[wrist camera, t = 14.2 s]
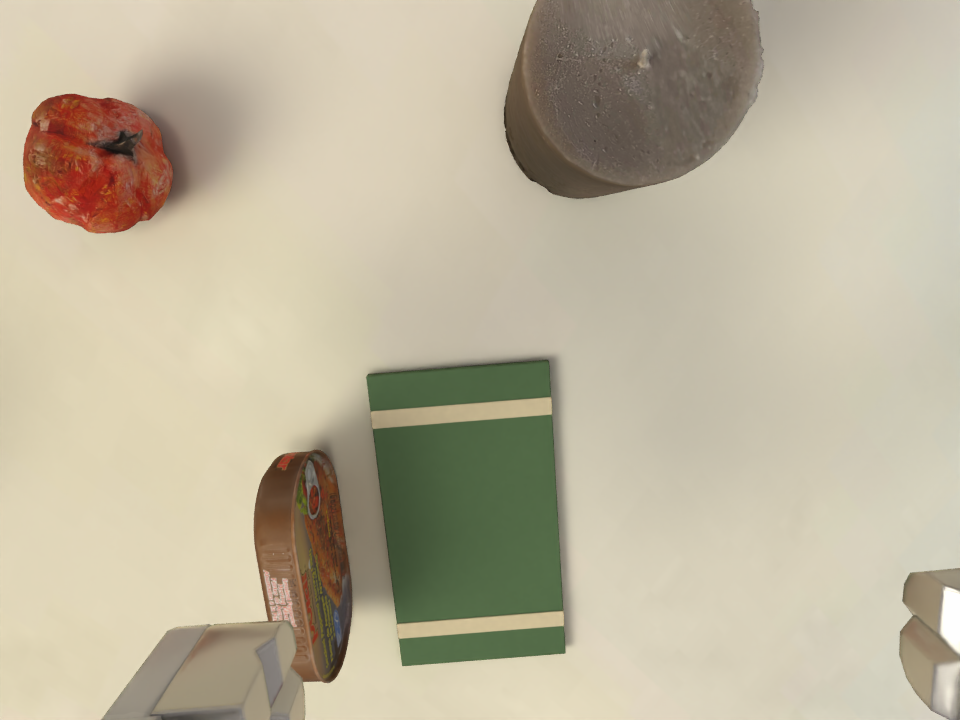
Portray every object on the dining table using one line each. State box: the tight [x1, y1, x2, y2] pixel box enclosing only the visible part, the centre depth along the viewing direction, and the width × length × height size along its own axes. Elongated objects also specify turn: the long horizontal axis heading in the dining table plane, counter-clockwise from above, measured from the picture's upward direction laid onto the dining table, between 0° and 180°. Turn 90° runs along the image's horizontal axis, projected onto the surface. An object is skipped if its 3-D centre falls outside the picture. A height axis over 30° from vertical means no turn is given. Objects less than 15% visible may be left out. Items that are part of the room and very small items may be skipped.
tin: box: [254, 450, 352, 683], centre depth 40 cm, size 15×3×8 cm, turn 4°
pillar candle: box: [504, 0, 764, 199], centre depth 31 cm, size 10×10×15 cm
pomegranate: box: [23, 94, 173, 233], centre depth 35 cm, size 7×7×10 cm
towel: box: [366, 360, 565, 666], centre depth 44 cm, size 12×22×1 cm, turn 5°
